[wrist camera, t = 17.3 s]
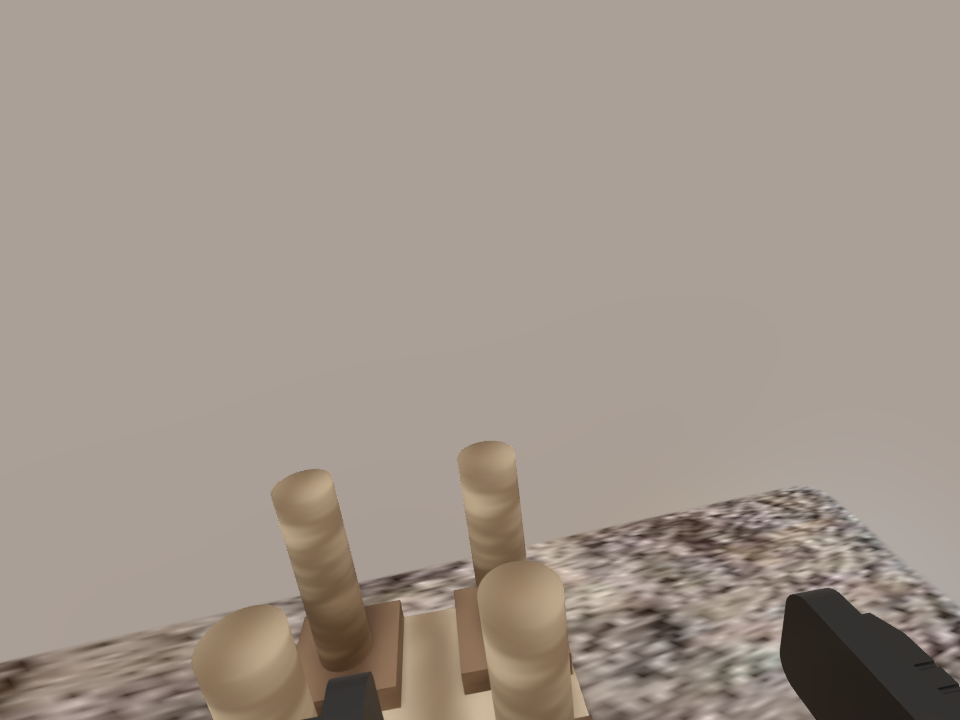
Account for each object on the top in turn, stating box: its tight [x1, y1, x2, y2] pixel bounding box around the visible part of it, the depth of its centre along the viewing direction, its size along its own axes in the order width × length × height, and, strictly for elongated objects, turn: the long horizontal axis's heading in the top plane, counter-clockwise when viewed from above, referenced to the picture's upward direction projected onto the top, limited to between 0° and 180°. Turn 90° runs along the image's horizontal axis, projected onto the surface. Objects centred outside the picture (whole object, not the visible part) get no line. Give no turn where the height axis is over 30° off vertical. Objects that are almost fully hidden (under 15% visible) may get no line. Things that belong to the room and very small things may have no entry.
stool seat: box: [192, 441, 593, 720], centre depth 31 cm, size 20×20×19 cm
